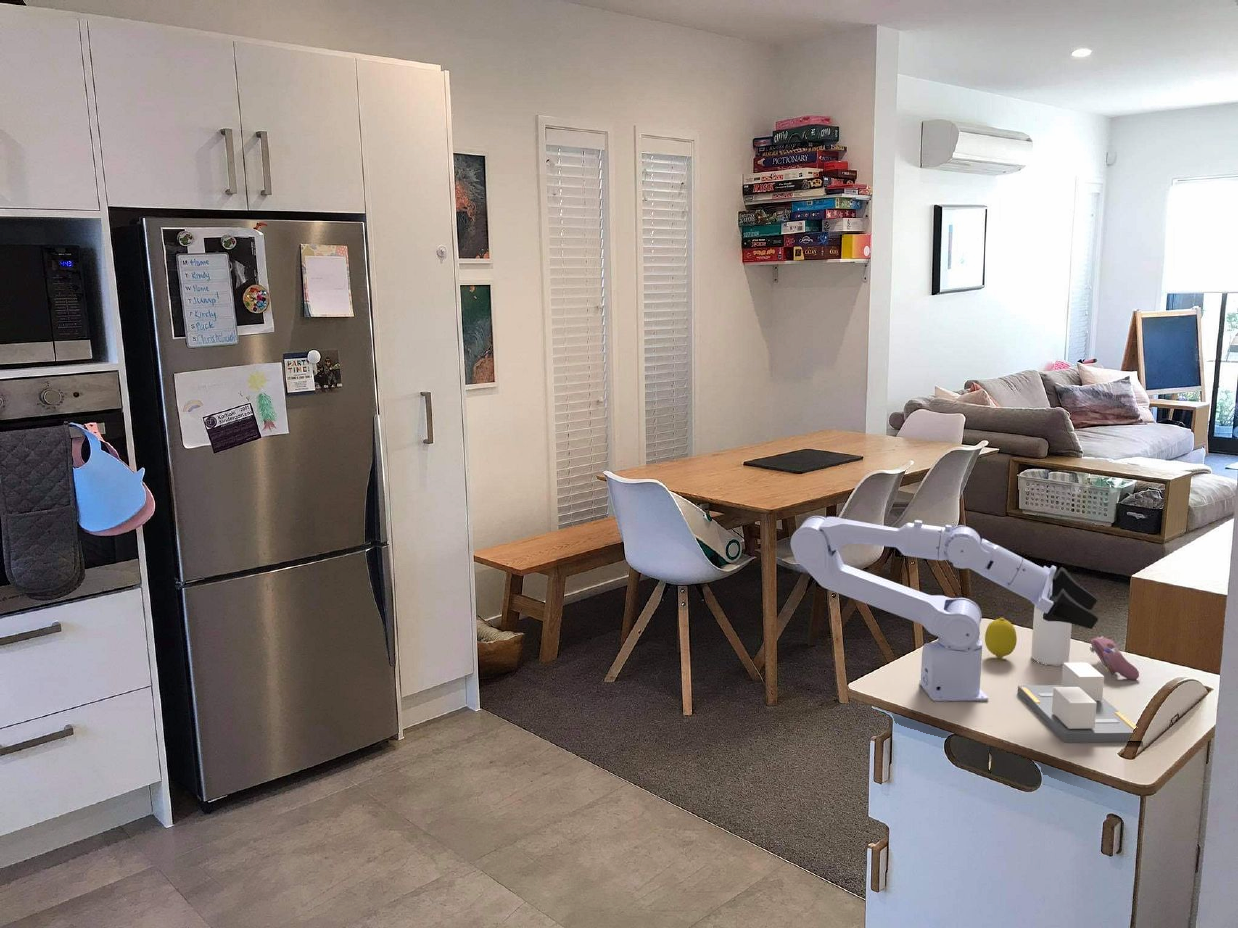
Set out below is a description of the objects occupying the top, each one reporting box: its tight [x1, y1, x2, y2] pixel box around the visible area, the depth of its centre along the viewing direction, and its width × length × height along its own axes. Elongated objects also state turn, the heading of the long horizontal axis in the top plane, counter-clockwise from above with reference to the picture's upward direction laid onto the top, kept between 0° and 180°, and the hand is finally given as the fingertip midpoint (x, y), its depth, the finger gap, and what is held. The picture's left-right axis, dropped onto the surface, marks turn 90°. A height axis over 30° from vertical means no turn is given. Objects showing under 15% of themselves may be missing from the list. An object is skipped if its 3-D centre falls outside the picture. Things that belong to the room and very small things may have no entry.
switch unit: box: [1017, 684, 1137, 743], centre depth 159 cm, size 12×18×2 cm, turn 0°
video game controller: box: [1089, 635, 1140, 681], centre depth 177 cm, size 10×5×7 cm, turn 174°
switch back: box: [1061, 662, 1105, 701], centre depth 163 cm, size 4×6×4 cm, turn 0°
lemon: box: [984, 617, 1018, 659], centre depth 183 cm, size 6×6×8 cm
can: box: [1030, 605, 1073, 666], centre depth 181 cm, size 6×6×12 cm
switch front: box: [1052, 687, 1097, 729], centre depth 153 cm, size 4×6×4 cm, turn 0°
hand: (1094, 613), depth 158 cm, fingers open, 7 cm apart
